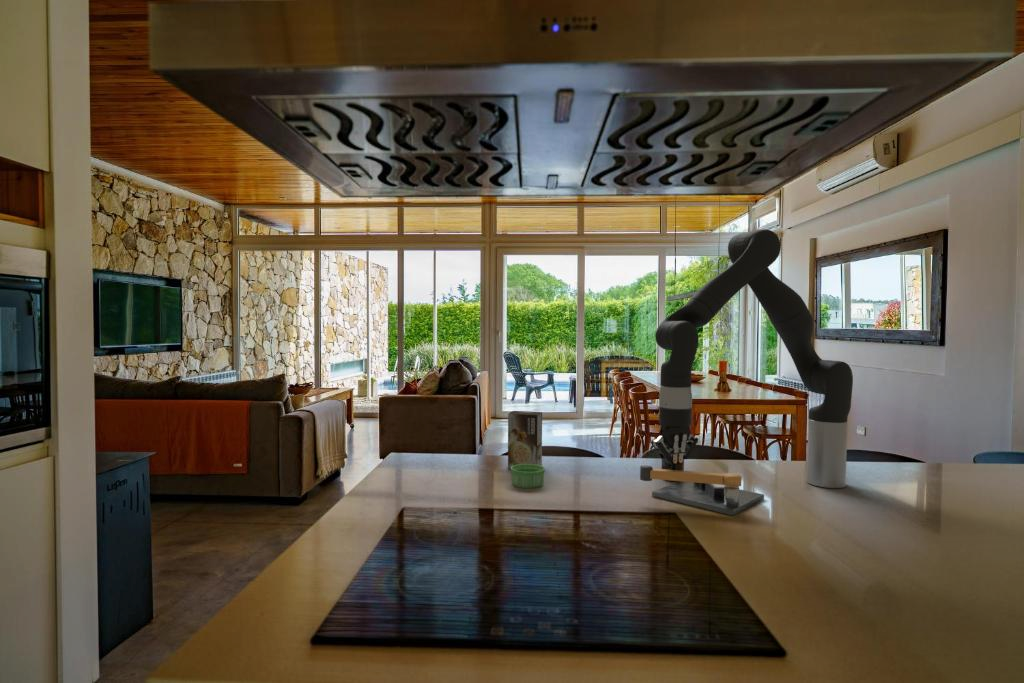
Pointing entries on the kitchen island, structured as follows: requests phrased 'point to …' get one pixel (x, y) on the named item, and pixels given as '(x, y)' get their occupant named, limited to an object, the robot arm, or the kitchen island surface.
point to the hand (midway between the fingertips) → (674, 477)
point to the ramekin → (527, 475)
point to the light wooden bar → (689, 476)
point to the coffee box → (524, 438)
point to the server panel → (709, 496)
